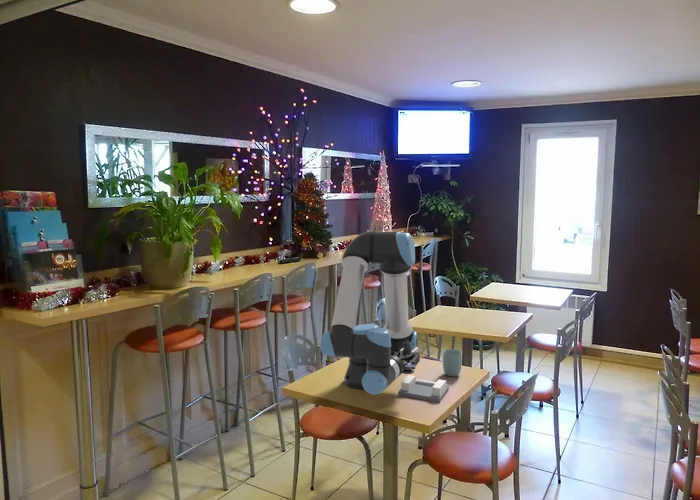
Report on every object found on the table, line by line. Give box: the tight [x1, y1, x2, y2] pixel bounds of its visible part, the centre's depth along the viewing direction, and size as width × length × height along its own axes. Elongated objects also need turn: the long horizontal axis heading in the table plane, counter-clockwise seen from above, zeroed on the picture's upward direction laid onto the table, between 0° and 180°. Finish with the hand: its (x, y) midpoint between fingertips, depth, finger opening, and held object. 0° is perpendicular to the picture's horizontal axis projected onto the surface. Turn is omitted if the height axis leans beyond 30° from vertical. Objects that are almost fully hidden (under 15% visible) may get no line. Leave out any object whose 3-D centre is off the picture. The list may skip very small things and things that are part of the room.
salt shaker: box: [402, 339, 415, 375], centre depth 190 cm, size 6×6×12 cm
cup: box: [442, 348, 463, 377], centre depth 220 cm, size 8×8×10 cm
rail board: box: [397, 374, 450, 403], centre depth 201 cm, size 16×13×4 cm
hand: (412, 350), depth 195 cm, fingers closed on salt shaker, 3 cm apart
